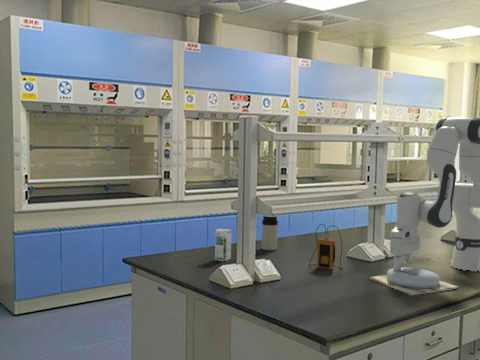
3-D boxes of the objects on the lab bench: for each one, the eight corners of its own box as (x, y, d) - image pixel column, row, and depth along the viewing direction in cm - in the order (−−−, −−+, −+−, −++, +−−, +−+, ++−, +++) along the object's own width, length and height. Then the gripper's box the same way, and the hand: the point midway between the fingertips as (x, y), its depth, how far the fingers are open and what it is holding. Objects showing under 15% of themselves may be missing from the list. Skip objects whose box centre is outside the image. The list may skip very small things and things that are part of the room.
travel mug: (273, 251, 258) (274, 216, 257) (259, 249, 262) (260, 215, 260) (279, 248, 265) (280, 214, 264) (265, 246, 269) (266, 213, 267)
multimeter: (347, 266, 231) (348, 223, 229) (339, 271, 222) (341, 226, 220) (316, 262, 238) (318, 220, 236) (308, 266, 230) (310, 222, 228)
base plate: (413, 273, 220) (413, 270, 220) (458, 289, 199) (458, 285, 199) (369, 279, 210) (369, 275, 210) (411, 296, 189) (412, 292, 188)
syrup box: (214, 260, 237) (214, 229, 236) (220, 257, 242) (221, 228, 241) (225, 262, 234) (225, 231, 233) (231, 259, 240) (231, 229, 238)
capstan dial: (447, 281, 205) (448, 260, 204) (425, 291, 190) (426, 268, 190) (401, 271, 219) (402, 251, 218) (377, 280, 204) (378, 258, 204)
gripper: (410, 227, 222) (409, 258, 223) (387, 232, 208) (386, 265, 209) (424, 229, 218) (423, 260, 219) (402, 234, 203) (400, 268, 204)
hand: (405, 263), depth 214 cm, fingers closed
